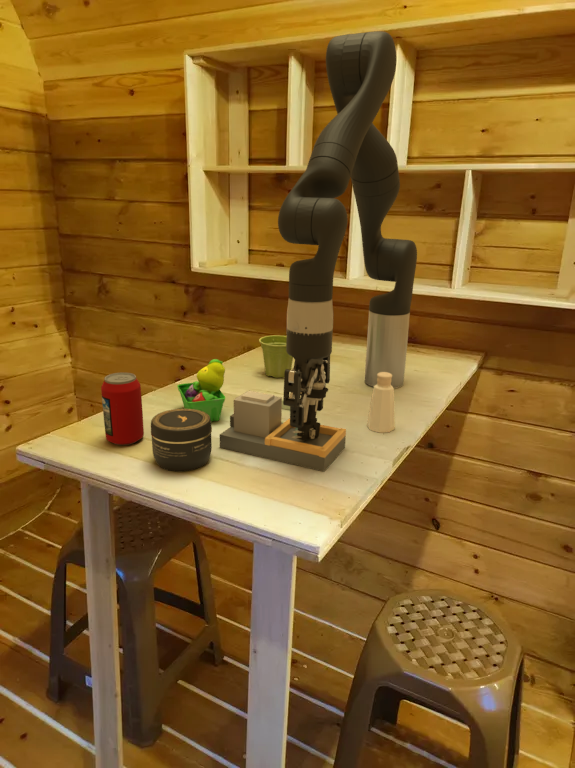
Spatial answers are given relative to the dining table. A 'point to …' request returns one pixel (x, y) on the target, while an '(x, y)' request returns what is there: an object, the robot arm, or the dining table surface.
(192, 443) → the jar
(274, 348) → the plant pot
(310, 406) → the black and tan cylinder
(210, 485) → the dining table surface
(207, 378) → the fruit basket
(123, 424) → the beverage can
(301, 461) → the gray stepped base block
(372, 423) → the pepper shaker
